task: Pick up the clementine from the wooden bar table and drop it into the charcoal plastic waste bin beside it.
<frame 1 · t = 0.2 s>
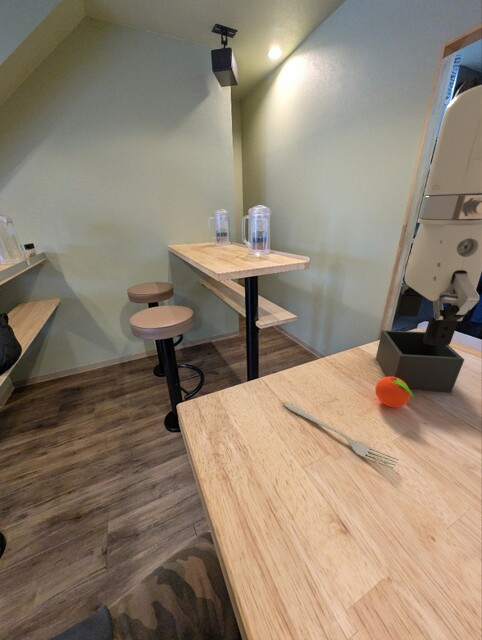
hand: (419, 328, 40), 25 cm above the table, tool pointing down, fingers open, 9 cm apart
fork: (331, 432, 53), on the table
clementine: (391, 405, 59), on the table
bin: (409, 373, 69), on the table
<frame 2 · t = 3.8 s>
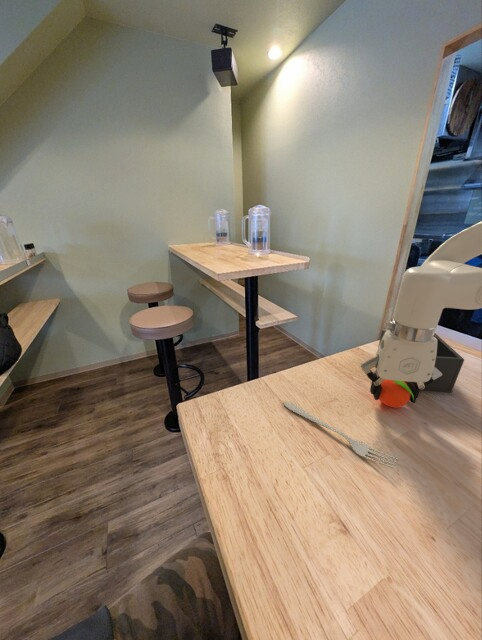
hand: (392, 396, 58), 2 cm above the table, tool pointing down, fingers closed on clementine, 7 cm apart
clementine: (391, 405, 59), on the table, touching gripper
everything else where it was.
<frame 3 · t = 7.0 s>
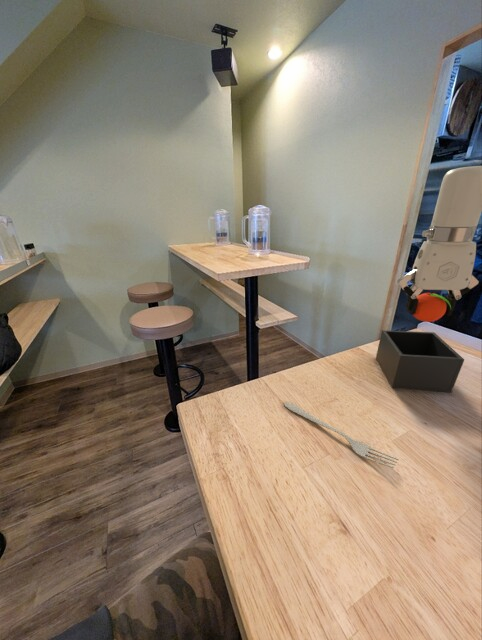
hand: (427, 312, 60), 19 cm above the table, tool pointing down, fingers closed on clementine, 7 cm apart
clementine: (426, 321, 61), point 17 cm above the table, touching gripper
everything else where it was.
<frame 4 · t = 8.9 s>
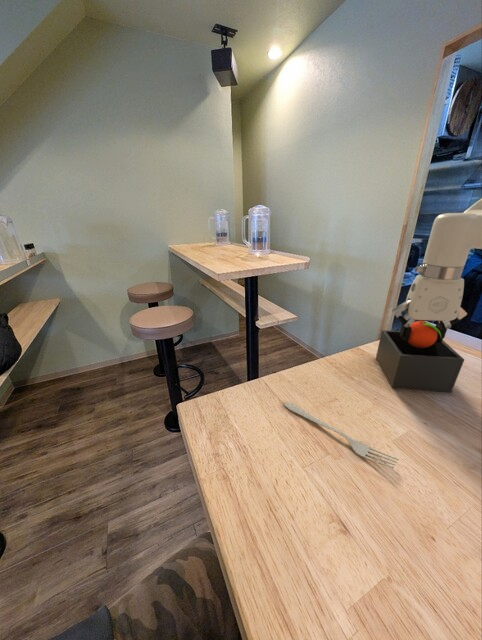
hand: (420, 339, 65), 11 cm above the table, tool pointing down, fingers closed on clementine, 7 cm apart
clementine: (419, 347, 66), point 8 cm above the table, touching gripper
everything else where it was.
when the fingers open (9 cm above the table, at t = 10.1 s): clementine drops 5 cm, resting on bin.
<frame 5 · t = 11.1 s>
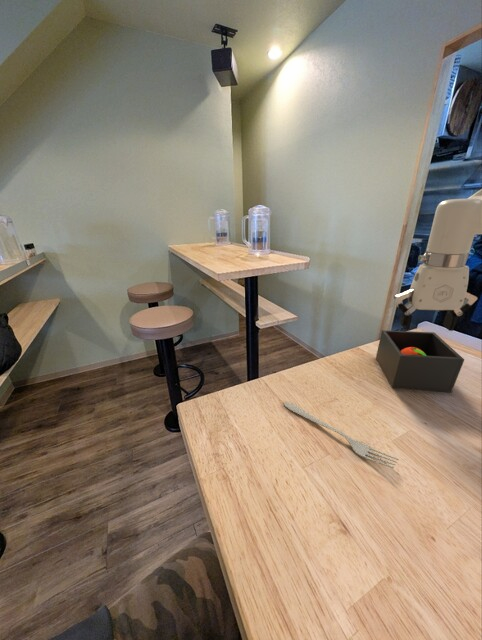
hand: (425, 327, 63), 14 cm above the table, tool pointing down, fingers open, 9 cm apart
clementine: (410, 372, 69), point 1 cm above the table, touching bin
everything else where it was.
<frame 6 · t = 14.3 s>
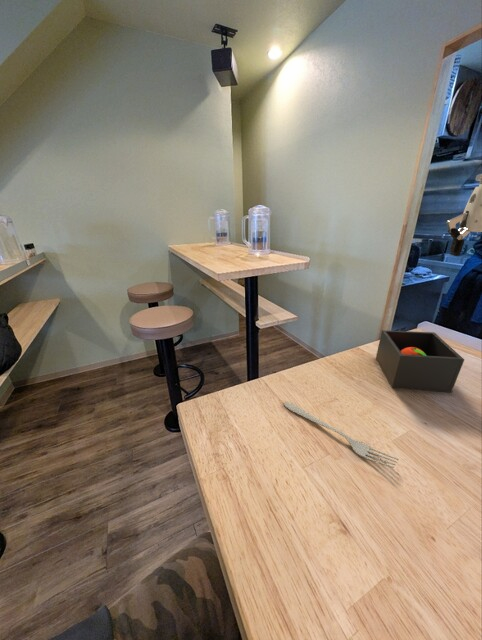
hand: (475, 255, 64), 30 cm above the table, tool pointing down, fingers open, 9 cm apart
nothing on the table moved.
at the end: clementine inside the target area in the bin (0.1 cm from its centre), point 0.6 cm above the bin's base; the gripper is holding nothing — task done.
